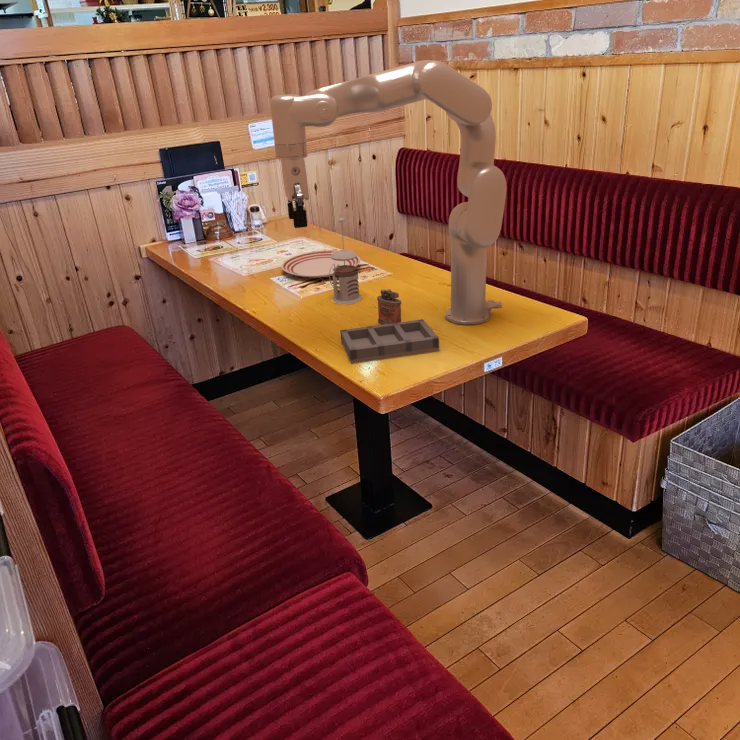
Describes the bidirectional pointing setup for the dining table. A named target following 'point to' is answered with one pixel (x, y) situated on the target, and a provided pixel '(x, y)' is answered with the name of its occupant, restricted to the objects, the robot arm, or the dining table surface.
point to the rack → (389, 341)
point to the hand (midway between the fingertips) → (298, 222)
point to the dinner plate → (315, 264)
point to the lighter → (389, 307)
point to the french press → (346, 284)
